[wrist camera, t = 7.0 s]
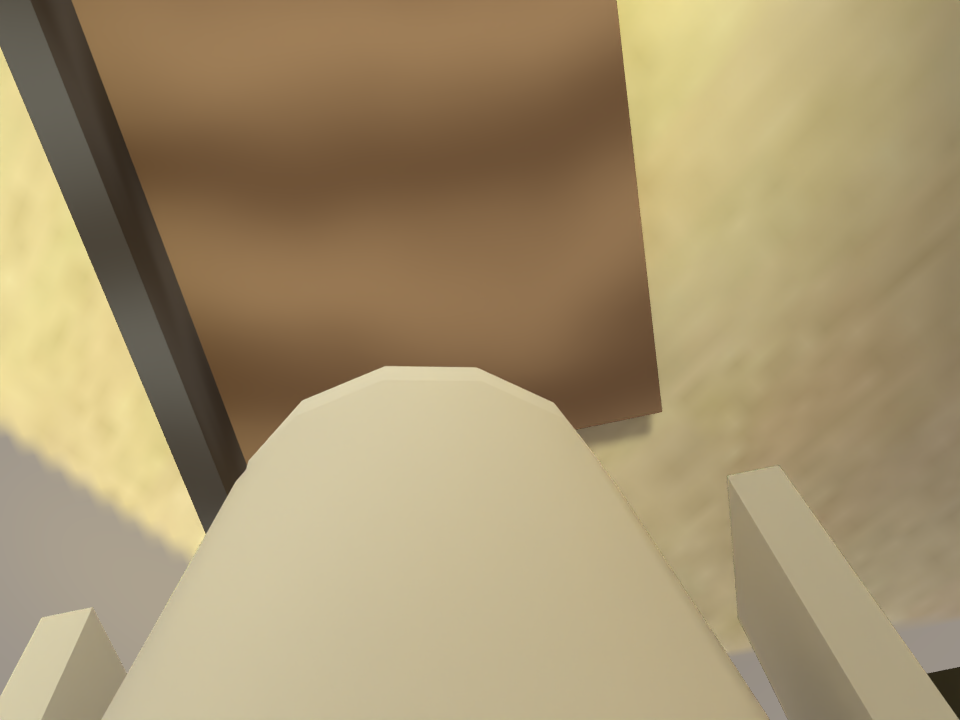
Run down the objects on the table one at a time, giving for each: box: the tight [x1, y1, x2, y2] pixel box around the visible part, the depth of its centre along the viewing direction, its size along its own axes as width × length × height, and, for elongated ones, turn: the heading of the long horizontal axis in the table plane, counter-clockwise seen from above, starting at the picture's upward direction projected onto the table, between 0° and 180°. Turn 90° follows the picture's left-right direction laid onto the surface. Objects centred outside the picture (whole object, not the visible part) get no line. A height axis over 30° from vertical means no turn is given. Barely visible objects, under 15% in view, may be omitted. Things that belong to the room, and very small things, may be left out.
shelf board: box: [0, 0, 662, 533], centre depth 23 cm, size 20×14×4 cm
